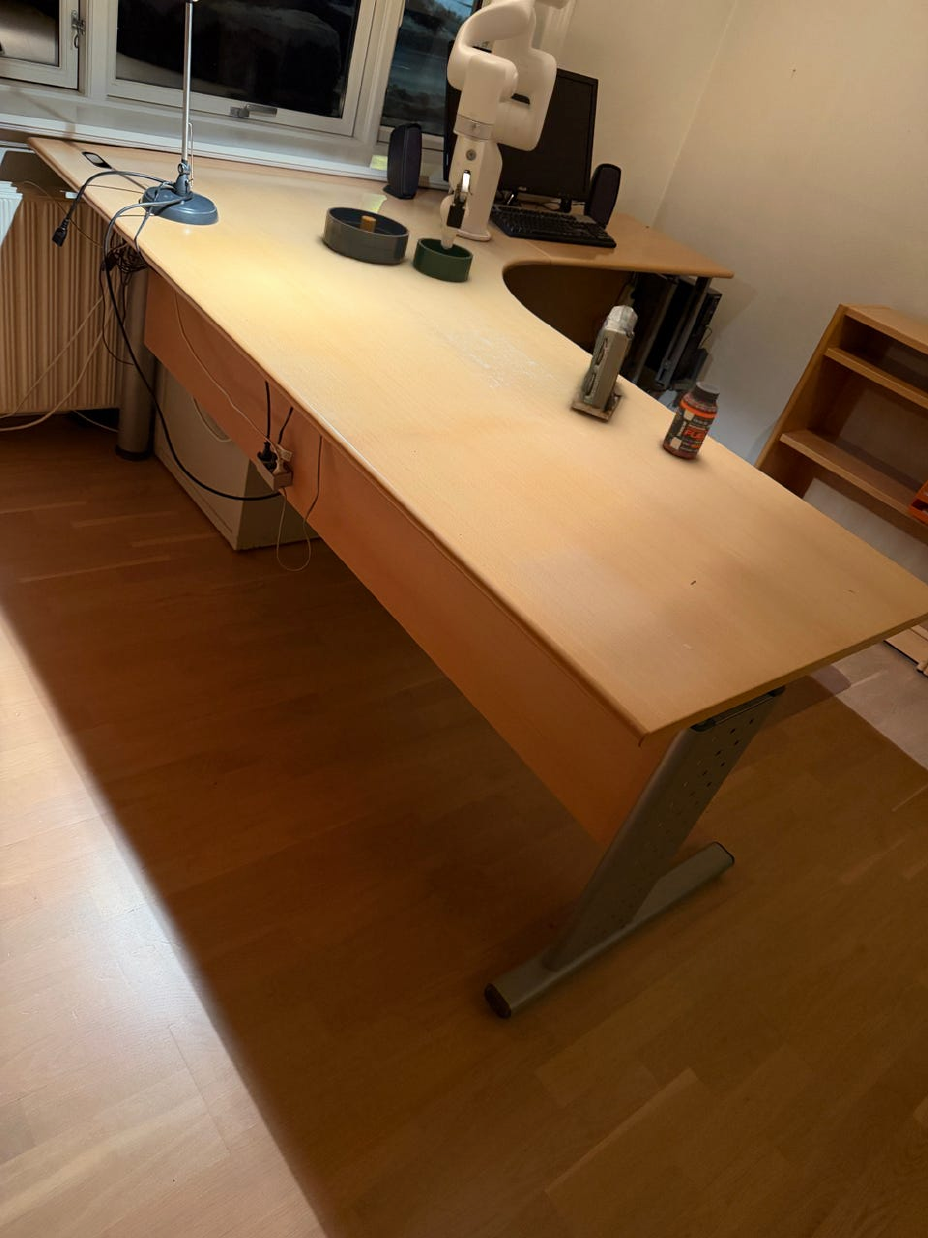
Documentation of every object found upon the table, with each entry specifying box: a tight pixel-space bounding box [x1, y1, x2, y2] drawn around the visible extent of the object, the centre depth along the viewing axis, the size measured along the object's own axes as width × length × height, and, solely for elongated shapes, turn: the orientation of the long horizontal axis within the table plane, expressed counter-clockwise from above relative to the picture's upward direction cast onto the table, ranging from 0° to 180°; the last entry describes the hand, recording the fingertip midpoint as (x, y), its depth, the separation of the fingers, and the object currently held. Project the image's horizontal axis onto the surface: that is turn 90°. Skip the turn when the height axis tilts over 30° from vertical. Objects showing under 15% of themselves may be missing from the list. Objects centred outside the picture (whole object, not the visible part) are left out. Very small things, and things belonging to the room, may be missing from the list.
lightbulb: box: [439, 194, 469, 249], centre depth 178 cm, size 6×6×11 cm
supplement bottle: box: [662, 381, 721, 459], centre depth 134 cm, size 6×6×11 cm
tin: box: [412, 237, 474, 283], centre depth 182 cm, size 12×13×5 cm
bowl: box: [322, 206, 411, 265], centre depth 180 cm, size 18×18×6 cm
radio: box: [571, 304, 639, 421], centre depth 144 cm, size 23×9×15 cm, turn 158°
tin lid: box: [360, 216, 376, 233], centre depth 179 cm, size 13×13×6 cm
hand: (451, 221), depth 178 cm, fingers closed on lightbulb, 6 cm apart
